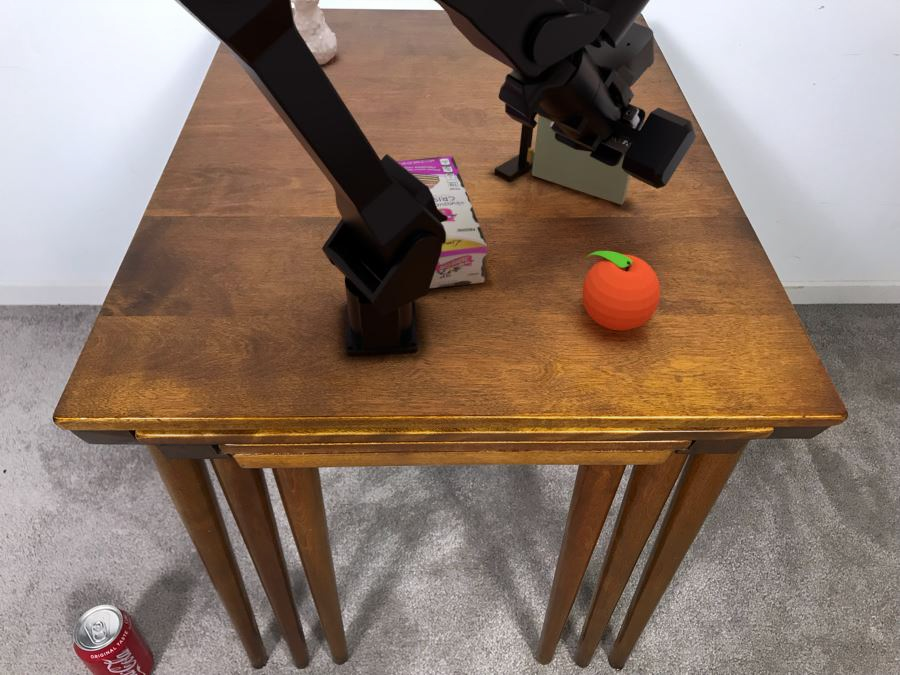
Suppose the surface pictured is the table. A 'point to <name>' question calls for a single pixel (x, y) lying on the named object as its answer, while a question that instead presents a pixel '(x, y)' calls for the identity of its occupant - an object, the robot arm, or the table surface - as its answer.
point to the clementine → (620, 291)
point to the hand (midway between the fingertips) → (618, 151)
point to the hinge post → (519, 158)
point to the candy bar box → (453, 222)
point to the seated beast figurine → (314, 30)
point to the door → (576, 167)
